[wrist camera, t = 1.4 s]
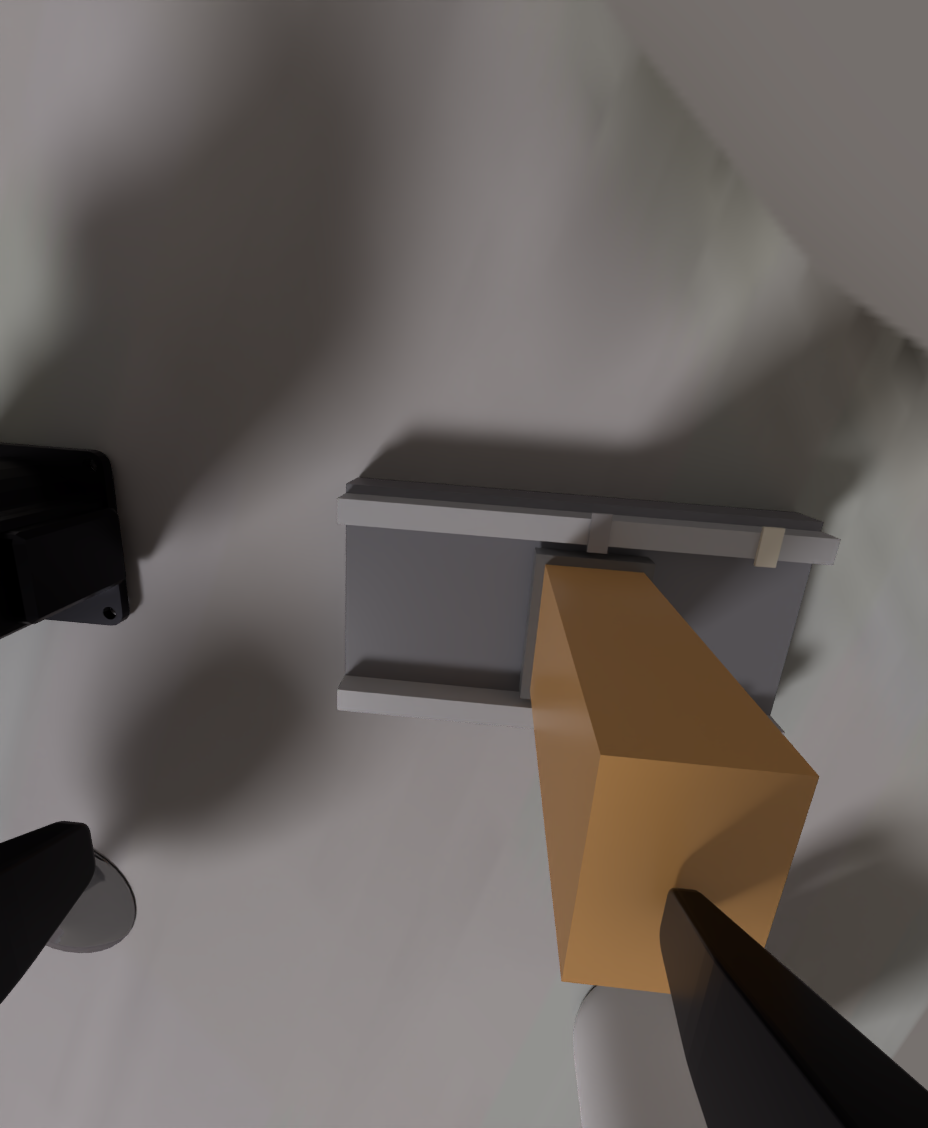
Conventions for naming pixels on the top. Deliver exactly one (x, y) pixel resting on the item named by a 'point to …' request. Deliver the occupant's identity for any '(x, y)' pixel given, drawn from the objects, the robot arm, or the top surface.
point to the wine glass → (97, 913)
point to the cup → (632, 1062)
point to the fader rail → (503, 577)
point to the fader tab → (647, 769)
